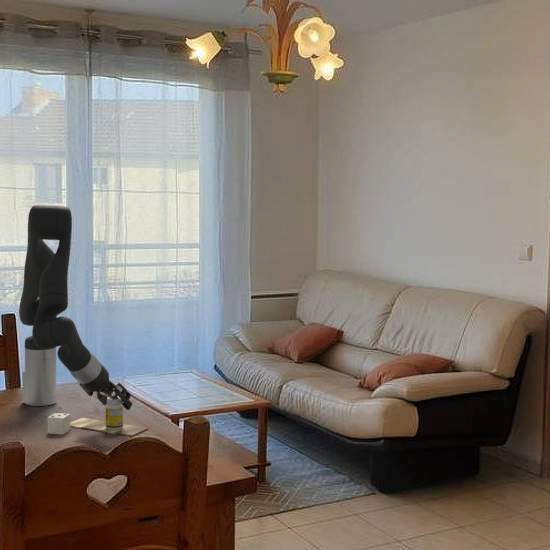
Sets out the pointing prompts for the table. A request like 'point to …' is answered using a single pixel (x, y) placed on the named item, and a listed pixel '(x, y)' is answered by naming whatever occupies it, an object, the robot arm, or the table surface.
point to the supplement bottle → (114, 414)
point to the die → (58, 423)
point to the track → (101, 426)
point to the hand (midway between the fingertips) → (118, 404)
